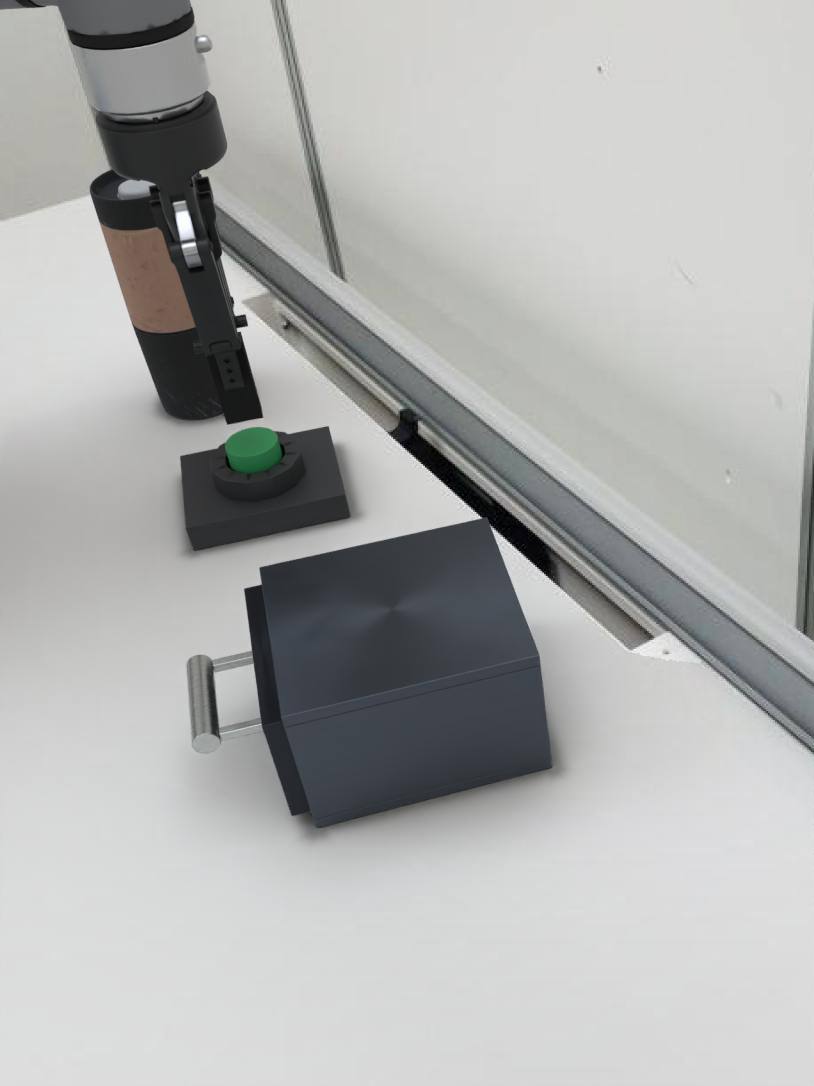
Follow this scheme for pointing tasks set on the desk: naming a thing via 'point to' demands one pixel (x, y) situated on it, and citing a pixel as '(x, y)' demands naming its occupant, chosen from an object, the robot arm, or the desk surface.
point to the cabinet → (404, 670)
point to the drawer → (270, 723)
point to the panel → (262, 491)
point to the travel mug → (154, 297)
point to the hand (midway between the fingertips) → (244, 415)
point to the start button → (253, 450)
